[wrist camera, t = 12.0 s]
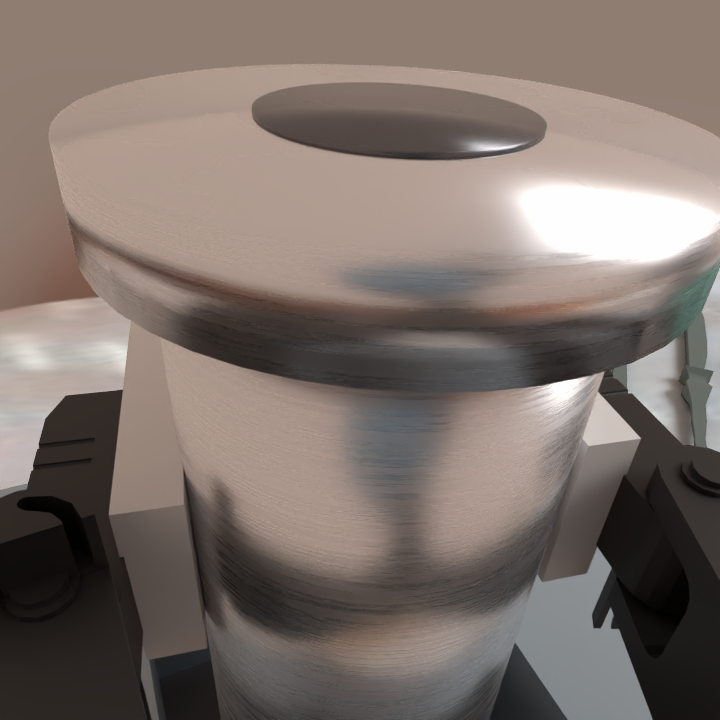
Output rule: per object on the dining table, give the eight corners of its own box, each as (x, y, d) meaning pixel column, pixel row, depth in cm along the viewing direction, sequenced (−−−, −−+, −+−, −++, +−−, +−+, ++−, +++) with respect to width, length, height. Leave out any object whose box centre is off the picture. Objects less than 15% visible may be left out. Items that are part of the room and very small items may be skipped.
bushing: (412, 563, 16) (487, 55, 9) (567, 820, 11) (940, 181, 5) (170, 649, 14) (40, 61, 7) (242, 1011, 9) (63, 315, 2)
